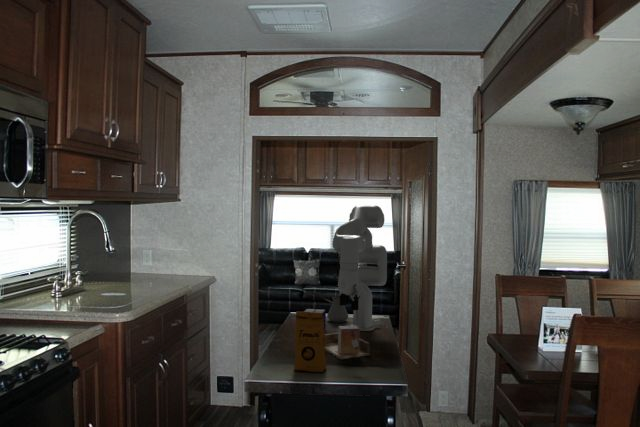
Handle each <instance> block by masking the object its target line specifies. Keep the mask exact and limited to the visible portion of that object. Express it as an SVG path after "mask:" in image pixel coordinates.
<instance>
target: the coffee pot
mask: <svg viewBox="0 0 640 427" xmlns="http://www.w3.org/2000/svg"><path fill="white" fill-rule="evenodd" d="M312 295H314V296H316V297H318V298H320V299H322V300H325V301H326V302H329V303H331V306H330V308H329V311H328V312H327V314H326V318H327V319H328V320H329V321H330V322H331V321H333V322H332V323H334V322H342V323H345V322H346V321H347V320H348V318H349V314H348V311H347V309H346V305H343V306H340V296H339V295H337V296H332V297H331V298H332V301H331V300H330V299H327V298H326V297H324V296H322V295H320V294H318V293H317V294H316V292H313V291H311V292H310V294H309V296H312Z"/></svg>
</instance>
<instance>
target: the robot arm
mask: <svg viewBox="0 0 640 427" xmlns="http://www.w3.org/2000/svg"><path fill="white" fill-rule="evenodd" d="M384 226H385V215H384V212H383V210H382V208H381V207H380V206H378V205H375V204H374V205H373V204H371V205H368V204H366V205H364V204H359V205H355V206H354V207H352V209H351V212H350V213H349V219H348V221H347V222H345V223H343V224H342V225H340V226H339V227H338V228H336V230H335V232H334V234H333V237H332V242H331V243H332V244H331V245H332V249H333V251H335V253H340V256H339V257H340V260H339V263H340V264H339V267H340V268H339V274H338V285H337V287H338V288H337V289H338V292H339V293H338V296H340V306H343V305H344V306H347V305H348V304H347V303H348V296H350V298H351V300H350V310H351V311H352V313H353V314H352V315H353V316H352V319H353V320H352V322H353V323H351V324H350V325H349V326H357V327H358V328H359V332H371V331H374V330H375V329H376V326H375V325H379V324H381V320H380V319H374V318H373V292H372V291H371V289H370V288H369V287H370V286H374V287H375V286H378V287H382V286H385V285H386V283H387V280H388V279H387V278H388V271H387V270H388V252H387V249H386V247H385V246H384V245H381V244H380V245H379V244H373V233H372V232H371V230H370V229H381V228H383V227H384ZM359 264H366V265H365V266H364V265H359ZM370 265H377V266H370Z"/></svg>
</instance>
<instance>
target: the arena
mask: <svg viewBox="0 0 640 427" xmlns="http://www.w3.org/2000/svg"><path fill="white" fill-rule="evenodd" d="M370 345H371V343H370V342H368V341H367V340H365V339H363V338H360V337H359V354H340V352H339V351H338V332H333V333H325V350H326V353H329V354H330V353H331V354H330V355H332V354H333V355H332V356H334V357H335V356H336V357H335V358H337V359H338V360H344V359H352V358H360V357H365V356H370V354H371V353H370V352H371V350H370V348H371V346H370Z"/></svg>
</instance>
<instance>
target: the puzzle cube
mask: <svg viewBox="0 0 640 427" xmlns="http://www.w3.org/2000/svg"><path fill="white" fill-rule="evenodd" d="M303 312H319V313H323V317H324V330H326V329H327V328H326V324H327V323H326V322H327V320H326V318H327V312H326V309H316V308H306V309H305V310H304V311H303Z"/></svg>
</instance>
